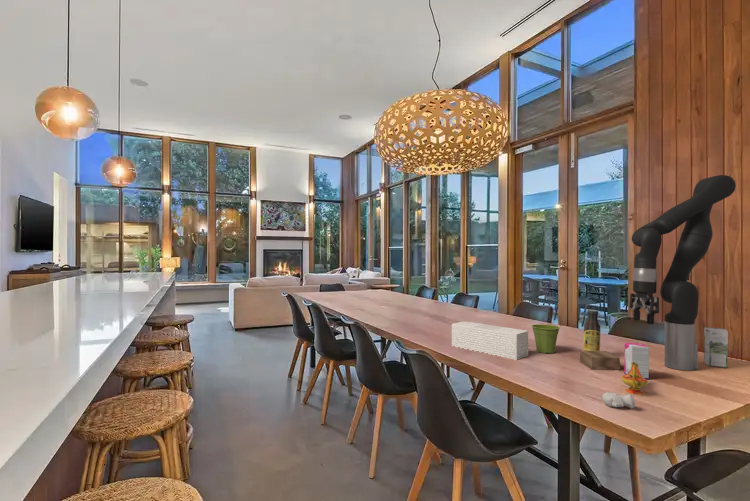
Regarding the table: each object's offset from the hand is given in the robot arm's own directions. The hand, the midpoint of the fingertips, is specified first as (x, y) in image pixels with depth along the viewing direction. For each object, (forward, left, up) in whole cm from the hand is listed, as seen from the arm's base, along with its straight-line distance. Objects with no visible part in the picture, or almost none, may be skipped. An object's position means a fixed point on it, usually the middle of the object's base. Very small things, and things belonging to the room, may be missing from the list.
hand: (643, 322), depth 150 cm
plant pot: (+30, -20, -18) cm, 40 cm away
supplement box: (+10, +13, -18) cm, 24 cm away
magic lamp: (+18, +27, -18) cm, 37 cm away
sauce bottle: (+14, -12, -18) cm, 25 cm away
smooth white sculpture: (+31, +42, -18) cm, 55 cm away
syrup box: (-29, -4, -18) cm, 34 cm away
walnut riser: (+17, +1, -18) cm, 24 cm away
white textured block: (+55, -20, -18) cm, 61 cm away
